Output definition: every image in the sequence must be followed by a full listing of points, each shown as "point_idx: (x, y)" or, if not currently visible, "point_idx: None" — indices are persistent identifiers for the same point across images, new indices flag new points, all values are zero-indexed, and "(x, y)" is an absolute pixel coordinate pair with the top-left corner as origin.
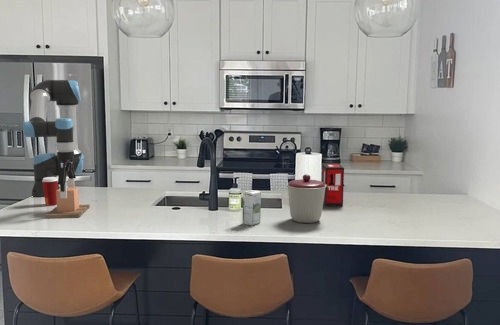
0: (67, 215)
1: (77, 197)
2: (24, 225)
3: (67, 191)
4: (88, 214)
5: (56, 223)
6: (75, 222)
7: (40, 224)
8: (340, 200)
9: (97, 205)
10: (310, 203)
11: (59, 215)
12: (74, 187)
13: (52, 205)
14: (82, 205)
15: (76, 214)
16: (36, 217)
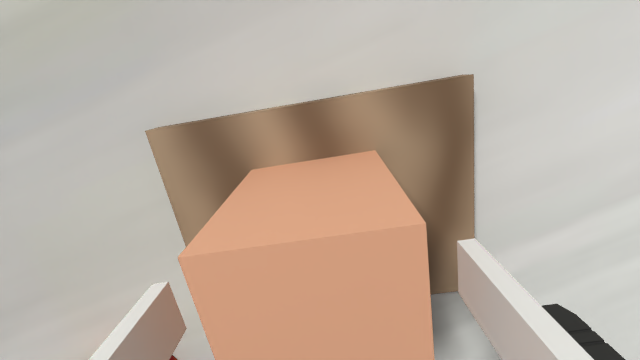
0: (471, 159)
1: (270, 195)
2: (612, 310)
3: (425, 292)
4: (370, 42)
5: (607, 163)
6: (609, 41)
7: (609, 244)
8: None
9: (85, 91)
10: None
11: (472, 210)
12: (202, 298)
13: (173, 357)
14: (190, 170)
15: (473, 96)
16: (441, 325)
